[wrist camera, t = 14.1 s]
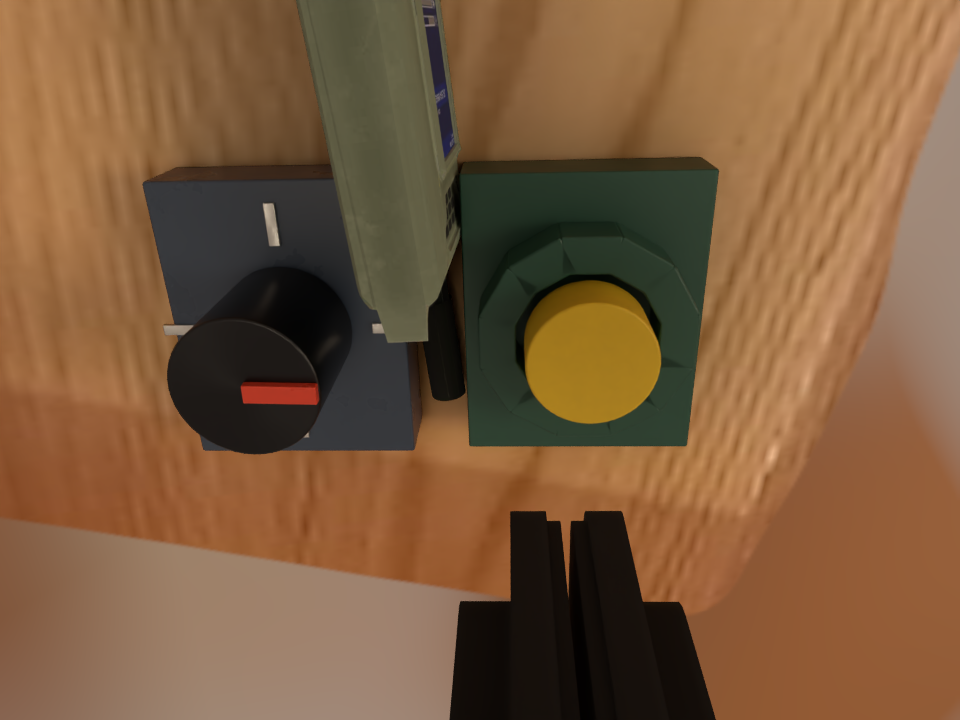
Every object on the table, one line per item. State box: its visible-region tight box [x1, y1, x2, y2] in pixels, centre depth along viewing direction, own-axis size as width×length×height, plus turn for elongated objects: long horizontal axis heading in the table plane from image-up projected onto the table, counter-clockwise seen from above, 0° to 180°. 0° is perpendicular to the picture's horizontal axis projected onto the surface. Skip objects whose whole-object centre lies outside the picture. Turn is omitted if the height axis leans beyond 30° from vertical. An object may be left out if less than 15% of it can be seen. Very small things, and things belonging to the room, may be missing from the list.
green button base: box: [459, 157, 719, 446], centre depth 24 cm, size 10×8×4 cm
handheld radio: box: [296, 0, 466, 401], centre depth 20 cm, size 7×3×25 cm
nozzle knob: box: [167, 267, 352, 454], centre depth 22 cm, size 4×4×5 cm
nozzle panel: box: [143, 165, 422, 451], centre depth 25 cm, size 10×9×3 cm
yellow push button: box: [524, 280, 661, 424], centre depth 22 cm, size 4×4×2 cm
